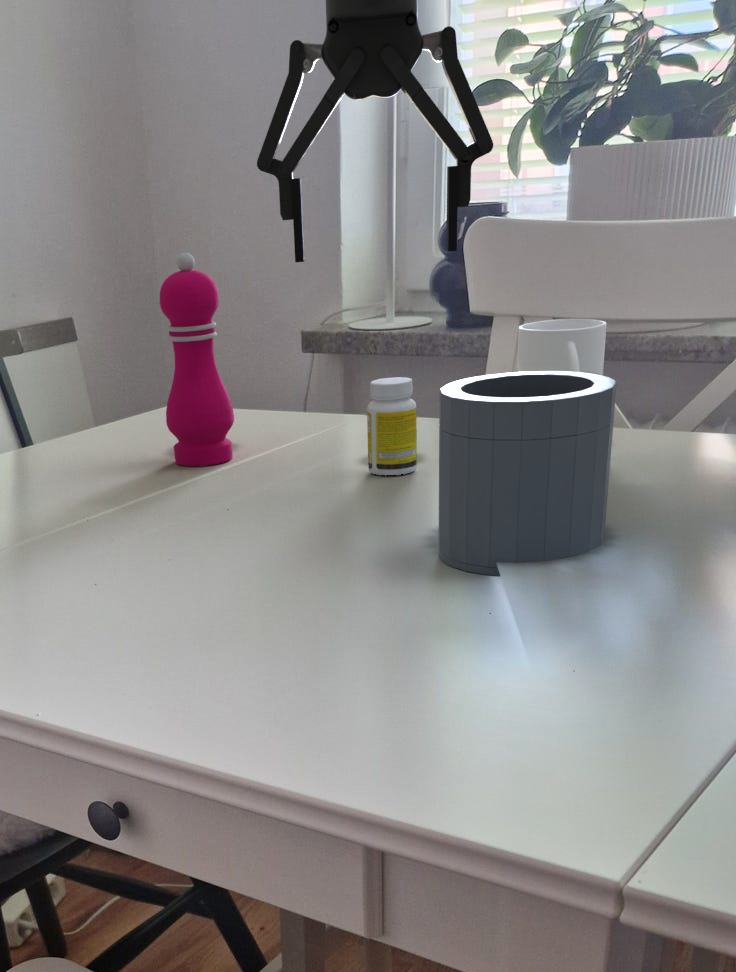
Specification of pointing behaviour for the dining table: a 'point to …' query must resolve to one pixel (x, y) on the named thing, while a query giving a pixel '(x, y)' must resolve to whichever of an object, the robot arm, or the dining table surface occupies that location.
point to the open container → (523, 467)
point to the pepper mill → (195, 369)
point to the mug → (562, 346)
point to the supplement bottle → (392, 427)
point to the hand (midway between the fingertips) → (375, 256)
